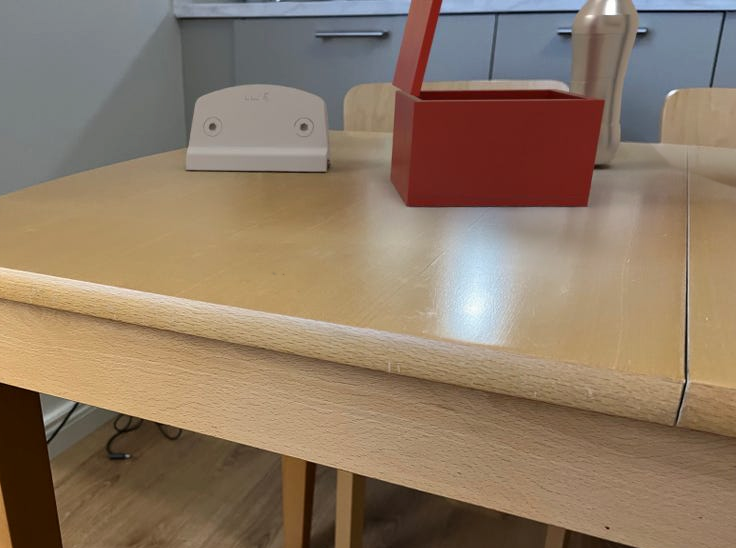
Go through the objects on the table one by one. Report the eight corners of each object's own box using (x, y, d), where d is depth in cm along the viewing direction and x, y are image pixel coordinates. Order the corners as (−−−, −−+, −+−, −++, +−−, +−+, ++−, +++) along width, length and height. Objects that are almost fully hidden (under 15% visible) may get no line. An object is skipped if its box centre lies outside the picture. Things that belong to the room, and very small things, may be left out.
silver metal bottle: (618, 171, 82) (655, -36, 74) (552, 169, 84) (581, -33, 76) (613, 162, 87) (647, -31, 79) (551, 160, 89) (578, -29, 81)
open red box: (543, 180, 78) (556, 89, 74) (587, 206, 66) (605, 99, 63) (390, 180, 79) (395, 90, 75) (407, 206, 67) (414, 101, 63)
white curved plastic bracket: (182, 169, 85) (185, 79, 85) (191, 176, 90) (194, 91, 89) (329, 171, 83) (333, 79, 82) (331, 179, 88) (335, 91, 87)
